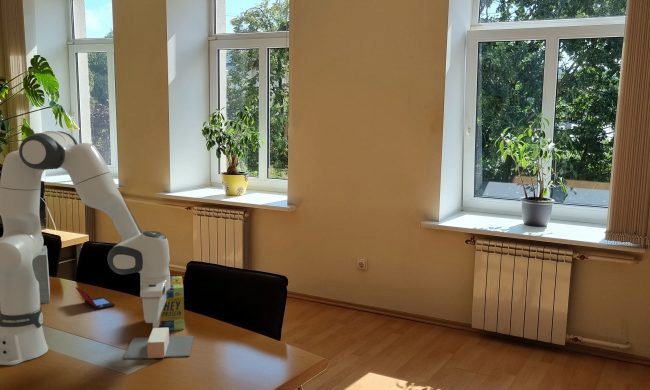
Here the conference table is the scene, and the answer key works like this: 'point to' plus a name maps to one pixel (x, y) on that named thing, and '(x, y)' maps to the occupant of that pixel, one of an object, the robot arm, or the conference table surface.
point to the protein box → (173, 306)
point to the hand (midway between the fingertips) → (156, 326)
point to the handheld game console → (96, 301)
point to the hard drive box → (42, 275)
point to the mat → (175, 347)
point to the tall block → (158, 343)
